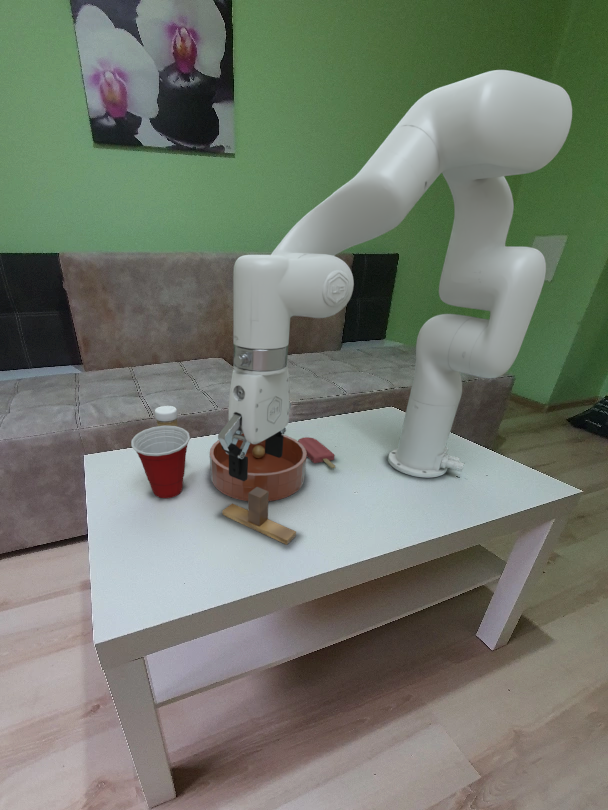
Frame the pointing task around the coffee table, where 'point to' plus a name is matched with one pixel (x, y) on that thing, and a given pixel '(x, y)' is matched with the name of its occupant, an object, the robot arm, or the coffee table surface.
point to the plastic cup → (163, 458)
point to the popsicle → (317, 451)
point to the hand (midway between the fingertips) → (256, 465)
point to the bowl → (261, 471)
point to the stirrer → (259, 517)
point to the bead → (258, 451)
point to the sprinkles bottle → (166, 416)
